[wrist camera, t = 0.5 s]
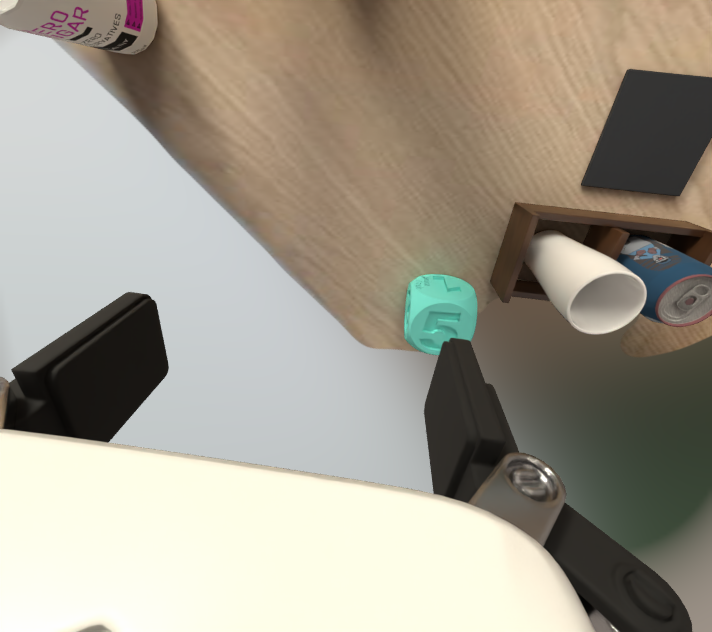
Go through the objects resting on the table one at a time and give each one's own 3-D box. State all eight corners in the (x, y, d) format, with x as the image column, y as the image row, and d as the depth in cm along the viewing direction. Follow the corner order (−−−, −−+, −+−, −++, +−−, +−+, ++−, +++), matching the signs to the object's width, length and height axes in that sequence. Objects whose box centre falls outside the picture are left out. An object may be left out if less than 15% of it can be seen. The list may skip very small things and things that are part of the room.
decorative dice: (468, 275, 47) (482, 303, 40) (457, 325, 51) (468, 358, 44) (409, 271, 48) (413, 298, 41) (403, 321, 52) (405, 353, 45)
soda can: (619, 291, 46) (684, 342, 36) (578, 268, 45) (634, 314, 35) (664, 247, 43) (751, 289, 33) (622, 221, 42) (697, 256, 32)
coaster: (627, 69, 35) (630, 69, 34) (738, 81, 34) (743, 80, 34) (580, 184, 40) (582, 185, 40) (676, 195, 40) (679, 196, 40)
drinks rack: (515, 202, 42) (532, 214, 37) (686, 221, 41) (729, 236, 36) (489, 281, 47) (502, 302, 42) (641, 299, 47) (672, 322, 42)
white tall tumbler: (584, 236, 43) (667, 288, 30) (548, 281, 47) (609, 345, 34) (537, 213, 42) (603, 258, 29) (504, 261, 46) (550, 320, 33)
